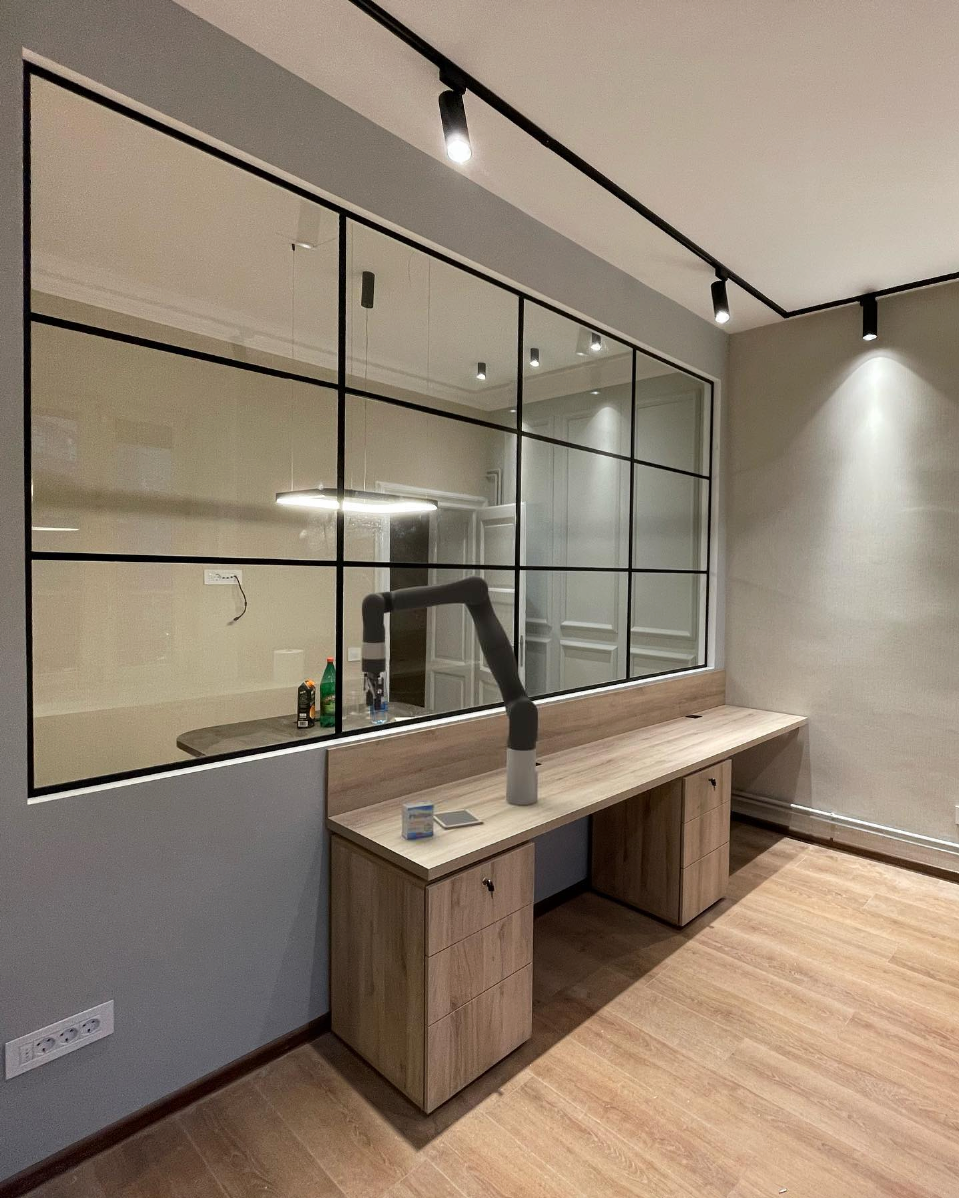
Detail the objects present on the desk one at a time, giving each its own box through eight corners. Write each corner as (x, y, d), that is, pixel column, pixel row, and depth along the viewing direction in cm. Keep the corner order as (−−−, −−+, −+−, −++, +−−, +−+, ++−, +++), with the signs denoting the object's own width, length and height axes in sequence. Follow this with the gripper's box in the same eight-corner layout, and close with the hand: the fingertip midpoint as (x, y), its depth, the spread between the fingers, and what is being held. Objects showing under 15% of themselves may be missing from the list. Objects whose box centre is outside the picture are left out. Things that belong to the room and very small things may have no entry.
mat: (466, 810, 208) (466, 808, 208) (483, 823, 197) (483, 821, 197) (429, 816, 203) (429, 813, 203) (444, 829, 192) (445, 827, 192)
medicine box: (406, 840, 184) (407, 808, 184) (401, 834, 188) (401, 803, 188) (433, 836, 187) (434, 804, 187) (428, 830, 191) (428, 799, 191)
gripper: (392, 658, 209) (391, 711, 210) (378, 653, 222) (378, 703, 223) (368, 659, 206) (368, 712, 206) (356, 654, 219) (355, 704, 219)
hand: (373, 707), depth 214 cm, fingers open, 8 cm apart
